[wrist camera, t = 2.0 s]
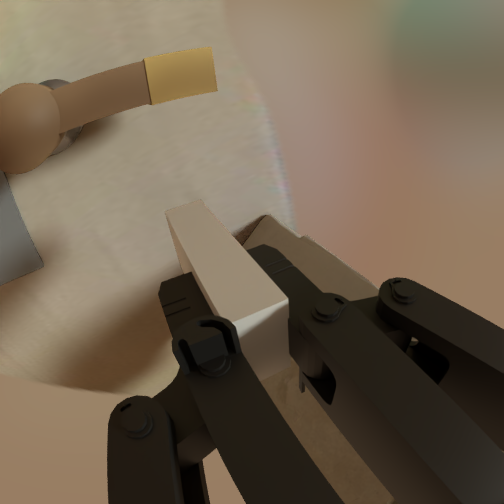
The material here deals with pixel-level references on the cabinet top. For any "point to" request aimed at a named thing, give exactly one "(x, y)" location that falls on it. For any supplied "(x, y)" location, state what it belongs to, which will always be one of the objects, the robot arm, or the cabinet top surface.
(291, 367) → the sculpture
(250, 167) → the cabinet top surface
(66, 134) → the metal pivot base
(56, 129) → the turn bar
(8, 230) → the mat
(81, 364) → the cabinet top surface
